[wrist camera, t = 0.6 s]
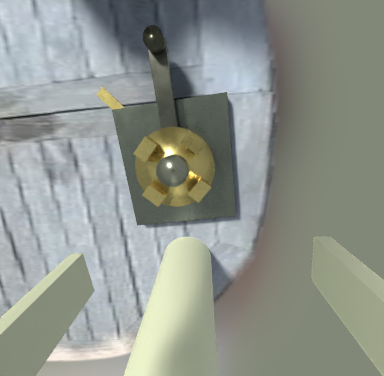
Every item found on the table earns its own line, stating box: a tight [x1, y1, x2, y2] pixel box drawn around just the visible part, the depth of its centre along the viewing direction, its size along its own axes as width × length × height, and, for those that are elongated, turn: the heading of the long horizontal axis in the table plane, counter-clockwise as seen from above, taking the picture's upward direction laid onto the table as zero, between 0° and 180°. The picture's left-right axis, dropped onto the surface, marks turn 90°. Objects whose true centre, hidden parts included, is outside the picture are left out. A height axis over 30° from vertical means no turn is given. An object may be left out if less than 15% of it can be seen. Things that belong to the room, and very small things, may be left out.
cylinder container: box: [124, 237, 218, 376], centre depth 24 cm, size 9×9×30 cm
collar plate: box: [97, 87, 236, 225], centre depth 32 cm, size 24×21×2 cm
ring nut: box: [133, 25, 215, 207], centre depth 27 cm, size 24×12×5 cm, turn 7°
